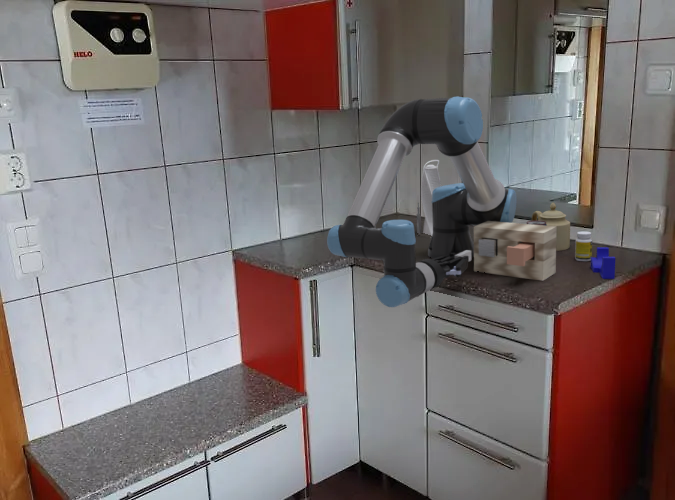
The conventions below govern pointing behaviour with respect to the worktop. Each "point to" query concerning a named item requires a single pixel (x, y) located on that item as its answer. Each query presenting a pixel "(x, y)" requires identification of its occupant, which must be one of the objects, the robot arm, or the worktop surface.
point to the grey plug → (488, 247)
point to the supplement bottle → (583, 246)
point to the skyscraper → (428, 196)
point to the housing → (513, 236)
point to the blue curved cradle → (603, 263)
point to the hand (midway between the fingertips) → (468, 255)
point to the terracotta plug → (520, 253)
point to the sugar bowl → (556, 220)
